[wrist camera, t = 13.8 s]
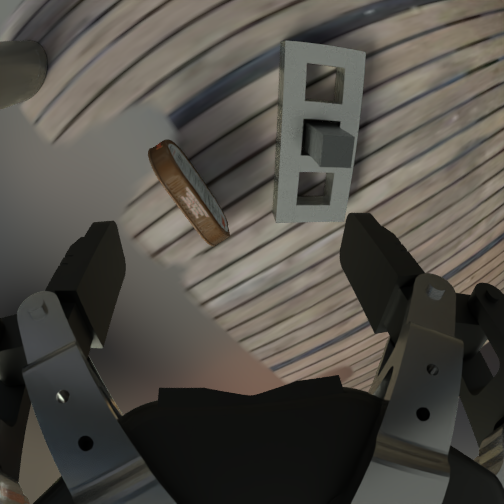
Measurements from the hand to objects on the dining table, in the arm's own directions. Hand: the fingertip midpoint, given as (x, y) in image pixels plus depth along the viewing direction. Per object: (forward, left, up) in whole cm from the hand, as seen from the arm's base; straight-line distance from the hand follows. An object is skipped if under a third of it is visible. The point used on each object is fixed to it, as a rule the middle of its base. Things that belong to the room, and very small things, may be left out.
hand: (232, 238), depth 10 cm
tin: (-4, -10, -30) cm, 32 cm away
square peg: (+12, -3, -30) cm, 33 cm away
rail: (+12, -3, -30) cm, 33 cm away
